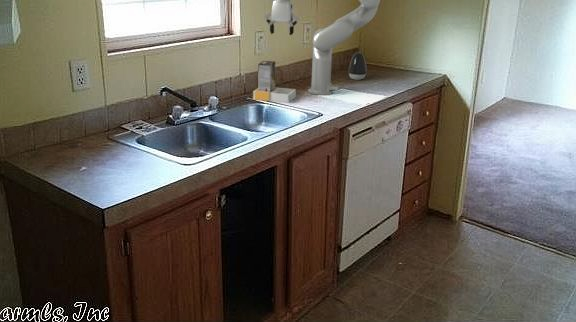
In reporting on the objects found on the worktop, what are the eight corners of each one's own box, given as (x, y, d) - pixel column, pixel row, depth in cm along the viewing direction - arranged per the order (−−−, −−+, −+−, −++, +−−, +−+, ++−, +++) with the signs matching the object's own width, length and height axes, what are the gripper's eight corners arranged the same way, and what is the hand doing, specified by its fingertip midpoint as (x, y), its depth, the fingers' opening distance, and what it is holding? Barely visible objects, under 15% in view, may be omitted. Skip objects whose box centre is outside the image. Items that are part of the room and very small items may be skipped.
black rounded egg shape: (369, 78, 307) (371, 51, 302) (361, 81, 299) (363, 54, 294) (352, 76, 312) (354, 49, 307) (344, 79, 304) (346, 52, 299)
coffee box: (262, 92, 266) (262, 60, 260) (275, 93, 265) (275, 61, 259) (257, 97, 258) (257, 63, 252) (270, 98, 257) (271, 64, 251)
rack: (295, 96, 264) (296, 88, 262) (288, 103, 252) (288, 93, 251) (261, 93, 268) (261, 84, 267) (252, 99, 257) (252, 90, 255)
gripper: (301, -2, 260) (300, 34, 266) (267, -4, 265) (267, 32, 271) (297, -1, 254) (296, 36, 260) (262, -3, 258) (262, 33, 264)
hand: (281, 34), depth 265 cm, fingers open, 9 cm apart
